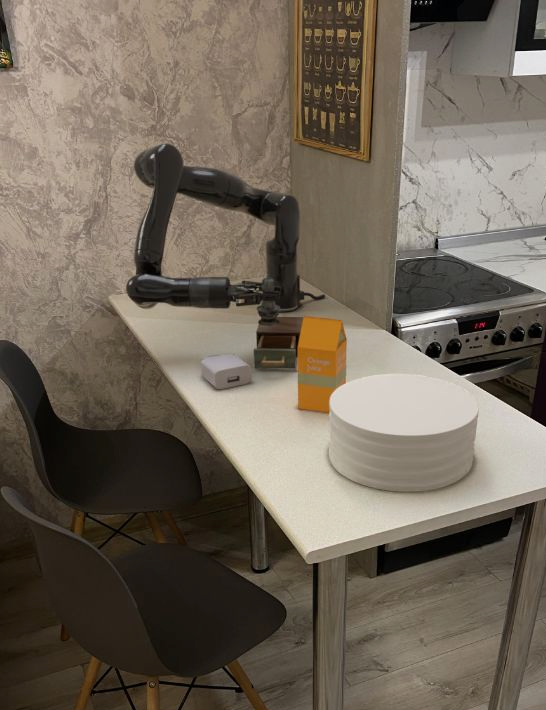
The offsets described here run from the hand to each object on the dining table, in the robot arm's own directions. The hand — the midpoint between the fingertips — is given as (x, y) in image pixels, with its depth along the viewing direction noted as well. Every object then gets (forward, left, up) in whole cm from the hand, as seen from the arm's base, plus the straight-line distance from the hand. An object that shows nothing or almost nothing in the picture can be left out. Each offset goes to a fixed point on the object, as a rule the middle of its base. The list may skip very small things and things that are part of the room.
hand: (279, 293), depth 183 cm
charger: (+17, -3, -18) cm, 25 cm away
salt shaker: (+2, -2, -7) cm, 8 cm away
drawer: (+3, +2, -17) cm, 17 cm away
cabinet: (-6, -8, -18) cm, 20 cm away
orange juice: (+10, +26, -18) cm, 33 cm away
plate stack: (+15, +54, -18) cm, 59 cm away
